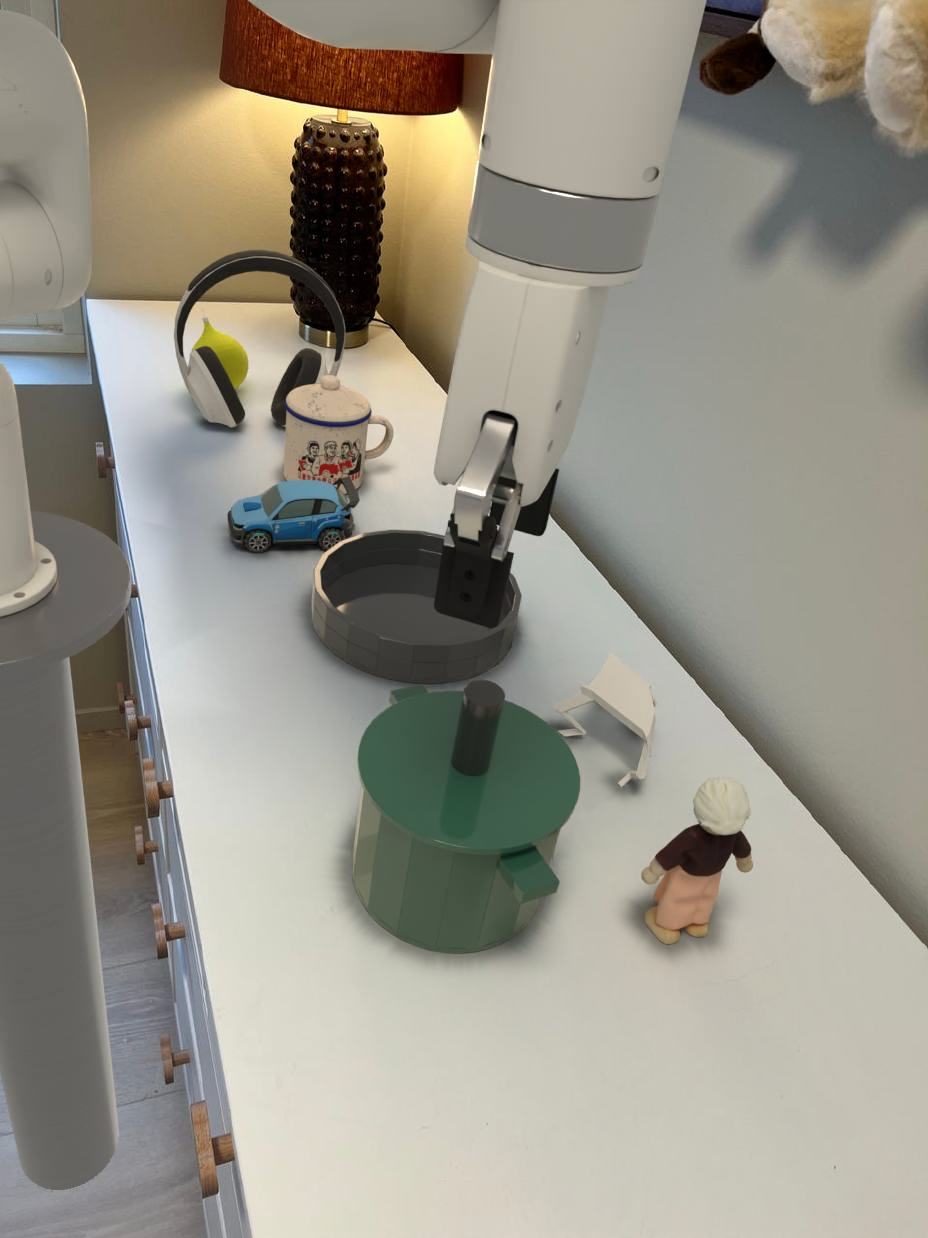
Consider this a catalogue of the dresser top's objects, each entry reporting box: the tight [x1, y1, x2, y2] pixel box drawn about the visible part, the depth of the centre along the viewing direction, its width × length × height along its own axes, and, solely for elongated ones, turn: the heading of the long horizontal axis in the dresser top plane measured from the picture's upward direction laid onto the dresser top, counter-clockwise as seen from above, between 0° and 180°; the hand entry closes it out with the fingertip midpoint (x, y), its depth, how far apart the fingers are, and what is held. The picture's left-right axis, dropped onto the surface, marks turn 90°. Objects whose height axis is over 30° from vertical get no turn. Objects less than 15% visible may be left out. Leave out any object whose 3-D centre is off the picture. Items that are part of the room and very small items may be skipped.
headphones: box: [173, 249, 346, 428], centre depth 111 cm, size 19×8×20 cm, turn 110°
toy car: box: [227, 476, 361, 554], centre depth 94 cm, size 6×12×6 cm, turn 108°
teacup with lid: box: [283, 375, 394, 495], centre depth 104 cm, size 12×9×12 cm
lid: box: [356, 679, 581, 855], centre depth 58 cm, size 14×14×7 cm
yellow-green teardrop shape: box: [190, 306, 249, 390], centre depth 119 cm, size 7×7×10 cm
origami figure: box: [551, 651, 658, 788], centre depth 76 cm, size 12×8×5 cm
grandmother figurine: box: [640, 776, 754, 945], centre depth 60 cm, size 8×4×13 cm, turn 118°
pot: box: [352, 683, 562, 954], centre depth 62 cm, size 13×18×10 cm
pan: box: [310, 529, 523, 684], centre depth 87 cm, size 18×18×4 cm
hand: (493, 569), depth 50 cm, fingers open, 9 cm apart
